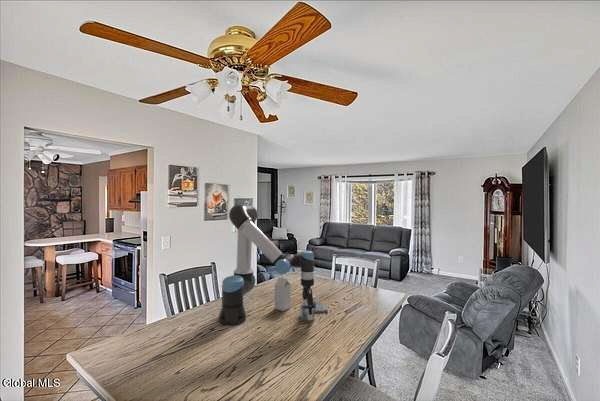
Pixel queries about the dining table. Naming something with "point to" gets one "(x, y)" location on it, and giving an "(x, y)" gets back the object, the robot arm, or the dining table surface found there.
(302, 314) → the grey square sleeve
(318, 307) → the shaft stand
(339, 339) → the dining table surface
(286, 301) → the milk carton
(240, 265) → the robot arm
